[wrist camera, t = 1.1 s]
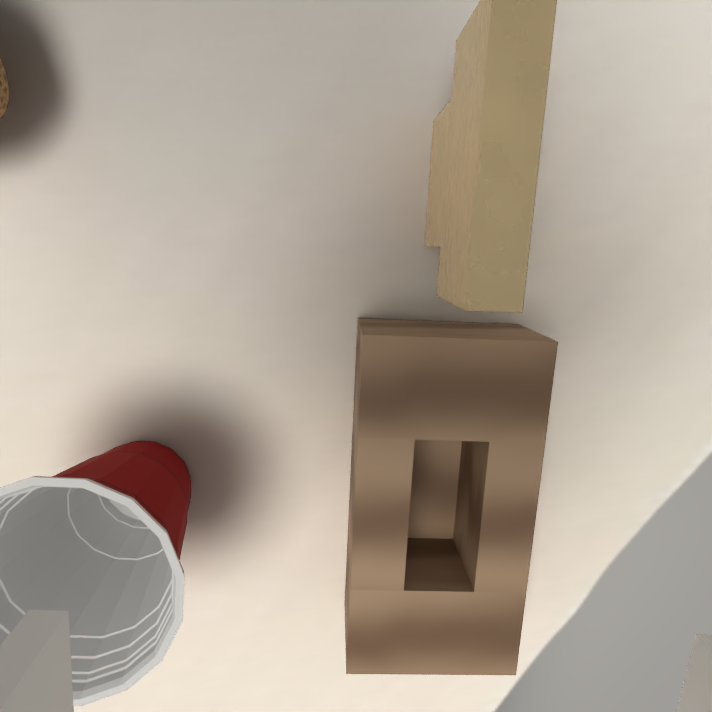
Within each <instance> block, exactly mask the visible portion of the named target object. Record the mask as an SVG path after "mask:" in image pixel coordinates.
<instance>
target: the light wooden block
mask: <svg viewBox="0 0 712 712" xmlns="http://www.w3.org/2000/svg"><path fill="white" fill-rule="evenodd" d="M556 4H557V0H480V2H479V4H478V5H477V7H476V9H475V10H474V12H473V14H472V15H471V17H470V19H469V20H468V22H467V24H466V25H465V27H464V29H463V30H462V32H461V34H460V35H459V37H458V39H457V40H456V52H455V65H454V78H453V91H452V98H451V100H450V101H449V102H448V103H447V105H446V106H445V107H444V108H443V110H442V111H441V112H440V113H439V115H438V116H437V117H436V118H435V120H434V121H433V132H432V147H431V161H430V175H429V189H428V203H427V218H426V232H425V246H437V247H441V248H440V261H439V274H438V287H437V296H438V297H440V298H442V299H444V300H445V301H447V302H449V303H451V304H453V305H455V306H457V307H459V308H460V309H462V310H464V311H489V312H513V313H522V311H523V302H524V293H525V284H526V275H527V266H528V257H529V248H530V239H531V230H532V221H533V212H534V202H535V193H536V184H537V175H538V166H539V157H540V148H541V139H542V130H543V121H544V112H545V103H546V94H547V85H548V76H549V67H550V58H551V49H552V40H553V31H554V22H555V13H556Z"/></svg>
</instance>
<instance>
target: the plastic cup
mask: <svg viewBox="0 0 712 712" xmlns="http://www.w3.org/2000/svg"><path fill="white" fill-rule="evenodd" d="M190 498H191V480H190V475H189V472H188V470H187V467H186V465H185V463H184V461H183V460H182V459H181V458H180V457H179V456H178V455H177V454H176V453H175V452H174V451H173V450H172V449H170V448H168V447H165V446H163V445H161V444H159V443H157V442H146V441H136V442H131V443H128V444H125V445H122V446H118V447H115V448H113V449H112V450H110V451H108V452H106V453H104V454H102V455H99V456H96V457H93V458H90V459H88V460H86V461H84V462H82V463H80V464H78V465H76V466H74V467H72V468H69V469H67V470H65V471H63V472H61V473H59V474H57V475H55V476H53V477H43V476H35V477H30V478H27V479H24V480H21V481H18V482H15V483H12V484H9V485H6V486H3V487H0V645H1V644H2V643H3V641H4V640H5V639H6V638H7V636H8V635H9V634H10V633H11V631H12V630H13V629H14V628H15V626H16V625H17V624H18V623H19V622H20V620H21V619H22V618H23V617H24V615H25V614H26V613H27V612H28V610H29V609H30V610H57V611H69V629H70V649H71V669H72V689H73V706H83V705H86V704H89V703H92V702H94V701H97V700H100V699H103V698H106V697H109V696H111V695H114V694H117V693H120V692H123V691H126V690H128V689H129V688H130V687H131V686H133V685H134V684H135V683H136V682H137V681H139V680H140V679H141V678H142V677H143V676H144V675H146V674H147V673H148V672H149V671H150V670H152V669H153V668H154V667H155V666H156V665H157V664H159V663H160V662H161V661H162V660H163V658H164V656H165V655H166V653H167V651H168V649H169V647H170V645H171V643H172V641H173V639H174V637H175V635H176V633H177V631H178V629H179V627H180V625H181V623H182V621H183V601H184V571H183V568H182V566H181V564H180V561H179V560H180V555H181V549H182V544H183V539H184V534H185V529H186V524H187V511H188V507H189V503H190Z"/></svg>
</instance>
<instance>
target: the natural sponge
mask: <svg viewBox="0 0 712 712" xmlns="http://www.w3.org/2000/svg"><path fill="white" fill-rule="evenodd" d="M8 103H9V87H8V81H7V76H6V73H5V69H4V65H3V62H2V59H1V57H0V120H1V119H2V117H3V116H4V114H5V112H6V109H7V107H8Z"/></svg>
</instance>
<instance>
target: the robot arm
mask: <svg viewBox="0 0 712 712" xmlns="http://www.w3.org/2000/svg"><path fill="white" fill-rule="evenodd" d="M0 712H74V709H73V689H72V669H71V649H70V629H69V611H57V610H30V609H29V610H28V612H27V613H26V614H25V615H24V617H23V618H22V619H21V620H20V622H19V623H18V624H17V625H16V626H15V628H14V629H13V630H12V631H11V633H10V634H9V635H8V636H7V638H6V639H5V640H4V641H3V643H2V644H1V645H0ZM676 712H712V635H702V634H696V636H695V640H694V644H693V648H692V652H691V656H690V659H689V663H688V667H687V671H686V675H685V679H684V683H683V687H682V691H681V694H680V698H679V702H678V706H677V710H676Z"/></svg>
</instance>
